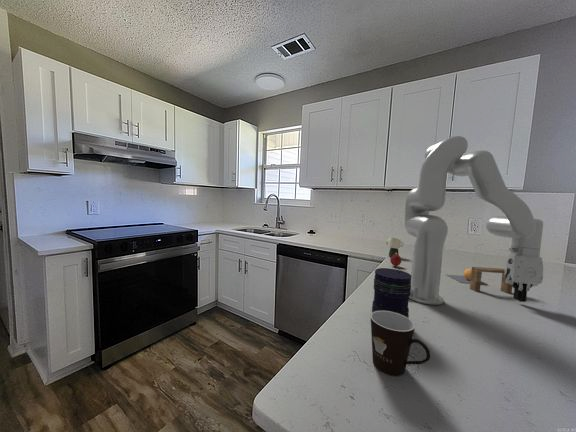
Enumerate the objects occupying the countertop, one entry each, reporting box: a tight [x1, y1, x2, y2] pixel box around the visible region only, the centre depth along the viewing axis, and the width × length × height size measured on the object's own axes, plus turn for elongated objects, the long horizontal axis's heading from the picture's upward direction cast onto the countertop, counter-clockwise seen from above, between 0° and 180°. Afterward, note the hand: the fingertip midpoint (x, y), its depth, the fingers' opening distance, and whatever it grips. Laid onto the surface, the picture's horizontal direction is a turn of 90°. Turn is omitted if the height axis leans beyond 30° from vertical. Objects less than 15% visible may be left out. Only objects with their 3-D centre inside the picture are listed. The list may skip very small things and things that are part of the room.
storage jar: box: [371, 267, 411, 319], centre depth 68 cm, size 10×10×15 cm
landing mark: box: [446, 274, 487, 285], centre depth 115 cm, size 12×12×1 cm
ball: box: [463, 267, 472, 281], centre depth 113 cm, size 6×6×6 cm
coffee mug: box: [370, 311, 431, 377], centre depth 48 cm, size 12×9×10 cm
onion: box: [389, 253, 402, 268], centre depth 132 cm, size 6×6×8 cm
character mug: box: [385, 237, 404, 258], centre depth 157 cm, size 11×7×13 cm, turn 50°
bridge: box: [469, 266, 513, 294], centre depth 99 cm, size 3×15×10 cm, turn 87°
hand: (519, 300), depth 87 cm, fingers closed
